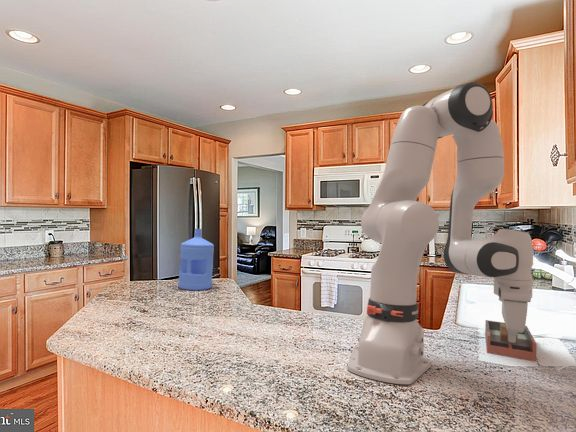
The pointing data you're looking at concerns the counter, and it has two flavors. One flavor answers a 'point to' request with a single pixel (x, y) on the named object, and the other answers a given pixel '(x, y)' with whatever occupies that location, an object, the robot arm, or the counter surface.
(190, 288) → the water jug
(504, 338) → the maple block
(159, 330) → the counter surface
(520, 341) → the box
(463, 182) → the robot arm
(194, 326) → the counter surface
